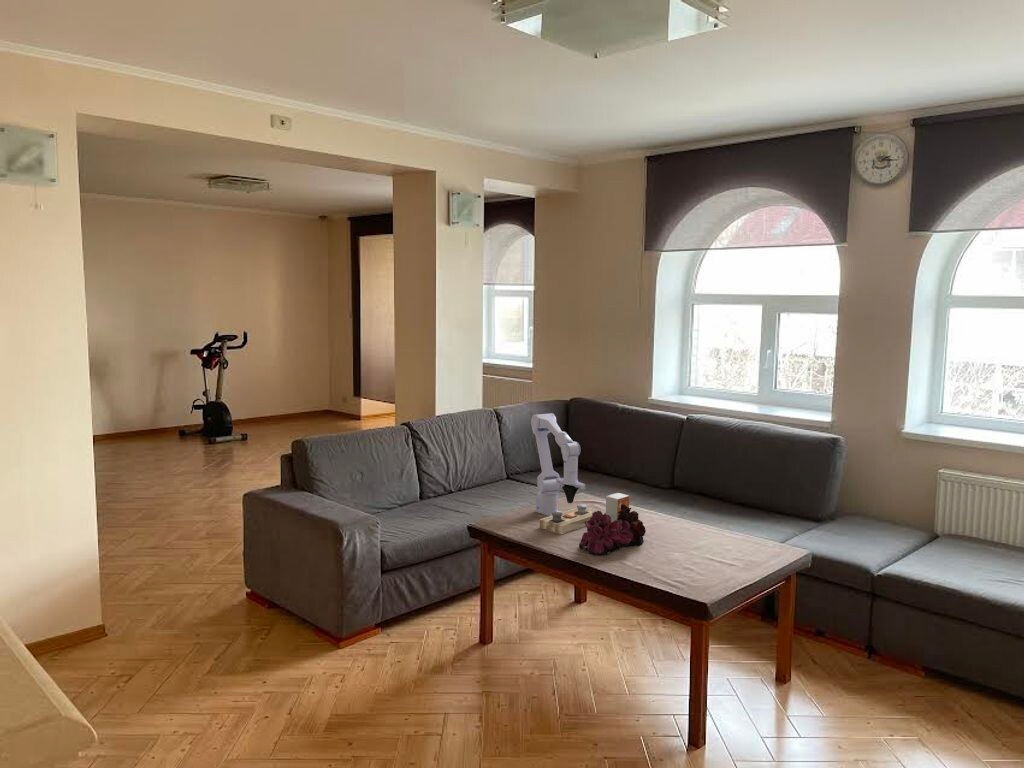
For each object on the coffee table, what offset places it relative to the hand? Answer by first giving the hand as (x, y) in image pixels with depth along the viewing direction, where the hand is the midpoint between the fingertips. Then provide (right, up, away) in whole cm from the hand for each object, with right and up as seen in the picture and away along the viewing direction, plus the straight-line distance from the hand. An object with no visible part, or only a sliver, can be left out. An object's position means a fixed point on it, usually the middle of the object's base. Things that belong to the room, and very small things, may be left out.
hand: (570, 502), depth 311 cm
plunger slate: (+6, -6, +6) cm, 10 cm away
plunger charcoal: (-6, -7, -5) cm, 10 cm away
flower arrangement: (+15, -13, -24) cm, 31 cm away
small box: (+20, -10, -1) cm, 22 cm away
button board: (0, -9, +1) cm, 9 cm away
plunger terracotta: (0, -9, +1) cm, 9 cm away
